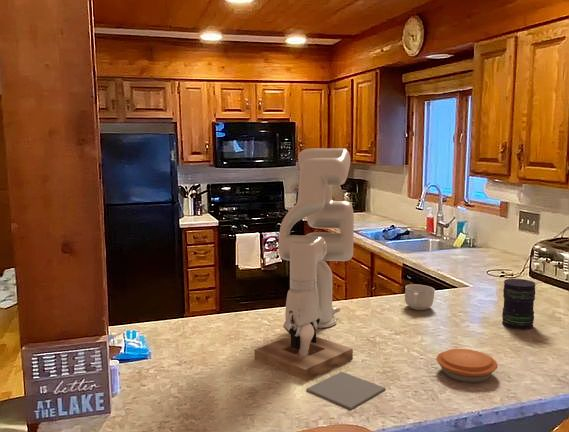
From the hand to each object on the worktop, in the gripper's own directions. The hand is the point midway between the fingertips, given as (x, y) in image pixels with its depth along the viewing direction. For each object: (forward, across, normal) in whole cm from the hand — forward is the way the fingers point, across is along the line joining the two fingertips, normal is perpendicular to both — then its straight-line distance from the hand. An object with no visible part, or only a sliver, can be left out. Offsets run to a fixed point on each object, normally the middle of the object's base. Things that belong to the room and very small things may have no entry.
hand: (303, 344), depth 151 cm
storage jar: (+5, -71, +33) cm, 78 cm away
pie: (+5, -23, +38) cm, 45 cm away
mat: (+4, +7, +21) cm, 23 cm away
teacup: (+5, -64, -1) cm, 64 cm away
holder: (+4, 0, 0) cm, 4 cm away
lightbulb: (+4, 0, 0) cm, 4 cm away
